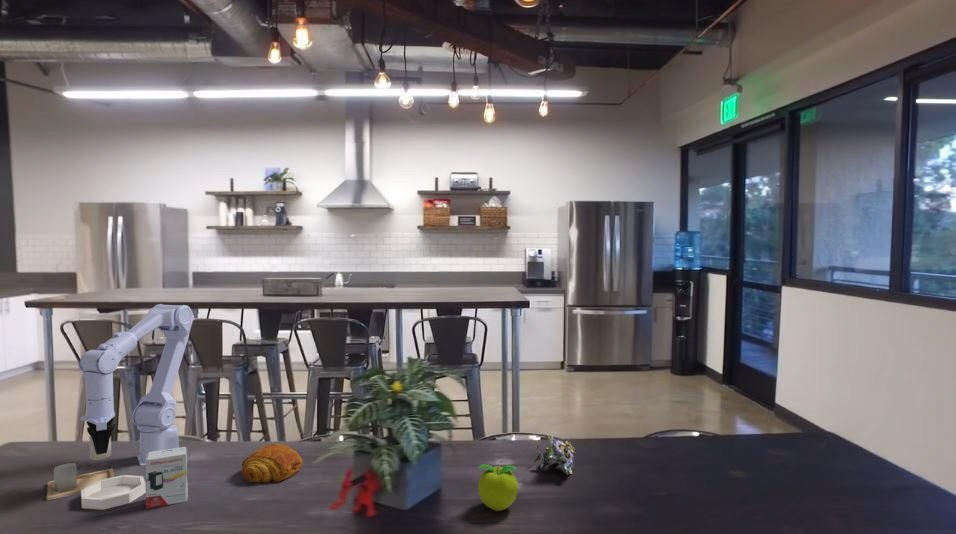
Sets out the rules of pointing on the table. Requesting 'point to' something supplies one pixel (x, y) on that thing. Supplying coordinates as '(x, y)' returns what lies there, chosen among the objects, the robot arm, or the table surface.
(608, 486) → the table surface
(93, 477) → the oak tray
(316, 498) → the table surface
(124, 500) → the white octagonal dish
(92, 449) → the grey rounded cylinder
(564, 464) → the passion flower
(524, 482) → the table surface
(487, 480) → the fruit
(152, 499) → the ink box
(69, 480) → the stone
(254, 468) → the croissant
